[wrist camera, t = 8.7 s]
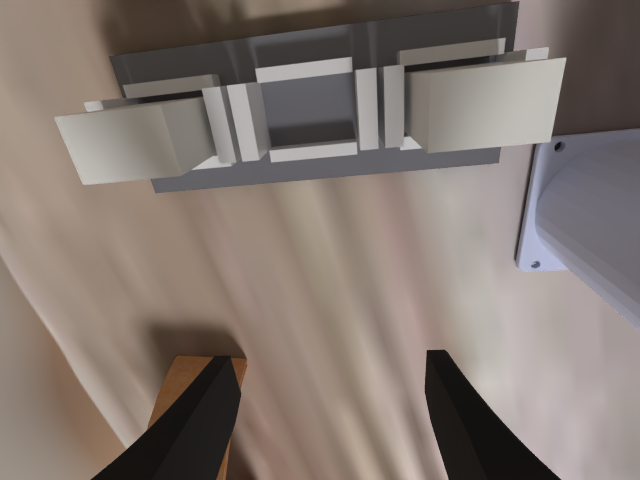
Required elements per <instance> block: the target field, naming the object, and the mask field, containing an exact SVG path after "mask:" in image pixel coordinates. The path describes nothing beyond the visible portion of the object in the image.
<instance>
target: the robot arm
mask: <svg viewBox="0 0 640 480" xmlns="http://www.w3.org/2000/svg"><path fill="white" fill-rule="evenodd" d="M558 142H561V146H560V148H559V149H558V150H554V147H555V145H556V144H557V143H558ZM535 261H537V262H536V264H534V265H531V264H532V263H533V262H535ZM516 267H517V268H518V269H519V270H520V271H522V272H534V271H553V270H570V271H571V272H572V273H573V274H574V275H576V276H577V277H578V278H579V279H580V280H581V281H582V282H584V283H585V284H586V285H587V286H588V287H589V288H591V289H592V290H593V291H594V292H595V293H596V294H597V295H599V296H600V297H601V298H602V299H603V300H604V301H605V302H607V303H608V304H609V305H610V306H611V307H612V308H613V309H615V310H616V311H617V312H618V313H619V314H620V315H621V316H623V317H624V318H625V319H626V320H627V321H628V322H630V323H631V324H632V325H633V326H634V327H635V328H636V329H638V330H639V331H640V128H635V129H625V130H614V131H603V132H593V133H582V134H571V135H561V136H551V141H550V142H545V143H537V145H536V148H535V154H534V160H533V166H532V172H531V177H530V183H529V189H528V195H527V200H526V206H525V212H524V218H523V224H522V229H521V235H520V241H519V247H518V252H517V258H516ZM425 395H426V400H427V405H428V410H429V415H430V420H431V423H432V427H433V430H434V433H435V437H436V440H437V443H438V446H439V450H440V453H441V456H442V459H443V462H444V466H445V469H446V472H447V475H448V479H449V480H561V479H560V478H559V477H558V476H556V475H555V474H554V473H553V472H552V471H551V470H550V469H549V468H548V467H547V466H546V465H545V464H544V463H542V462H541V461H540V460H539V459H538V458H537V457H536V456H535V455H534V454H533V453H532V452H531V451H530V450H529V449H528V448H527V447H526V446H525V445H524V444H523V443H522V442H521V441H520V440H519V439H518V438H517V437H516V436H515V435H514V434H513V433H512V432H511V431H510V429H509V428H508V427H507V426H506V425H505V424H504V423H503V422H502V421H501V420H500V418H499V417H498V416H497V415H496V414H495V413H494V412H493V411H492V409H491V408H490V407H489V406H488V405H487V403H486V402H485V401H484V400H483V399H482V397H481V396H480V395H479V394H478V393H477V391H476V390H475V389H474V388H473V386H472V385H471V384H470V383H469V381H468V380H467V379H466V377H465V376H464V375H463V373H462V372H461V371H460V369H459V368H458V367H457V365H456V364H455V362H454V361H453V359H452V358H451V357H450V355H449V354H448V352H447V351H446V350H427V357H426V376H425ZM240 398H241V391H240V387H239V384H238V381H237V377H236V374H235V370H234V367H233V363H232V360H231V357H230V356H214V357H213V359H212V360H211V361H210V362H209V363H208V364H207V365H206V366H205V368H204V369H203V370H202V371H201V372H200V373H199V375H198V376H197V377H196V378H195V379H194V380H193V382H192V383H191V384H190V385H189V386H188V387H187V388H186V390H185V391H184V392H183V393H182V394H181V395H180V396H179V397H178V398H177V400H176V401H175V402H174V403H173V404H172V405H171V406H170V407H169V408H168V409H167V410H166V411H165V412H164V414H163V415H162V416H161V417H160V418H159V419H158V420H157V421H156V422H155V423H154V424H153V425H152V426H151V427H150V428H149V429H148V430H147V431H146V432H145V433H144V434H143V435H142V436H141V437H140V438H139V439H138V440H137V441H135V442H134V443H133V444H132V445H131V446H130V447H129V448H128V449H127V450H126V451H125V452H123V453H122V454H121V455H120V456H119V457H118V458H117V459H115V460H114V461H113V462H112V463H111V464H109V465H108V466H107V467H106V468H104V469H103V470H102V471H101V472H100V473H98V474H97V475H96V476H95V477H94V478H92V479H91V480H216V479H217V476H218V473H219V470H220V467H221V464H222V461H223V458H224V455H225V452H226V449H227V446H228V443H229V440H230V437H231V434H232V431H233V428H234V425H235V422H236V417H237V413H238V408H239V403H240Z"/></svg>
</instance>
